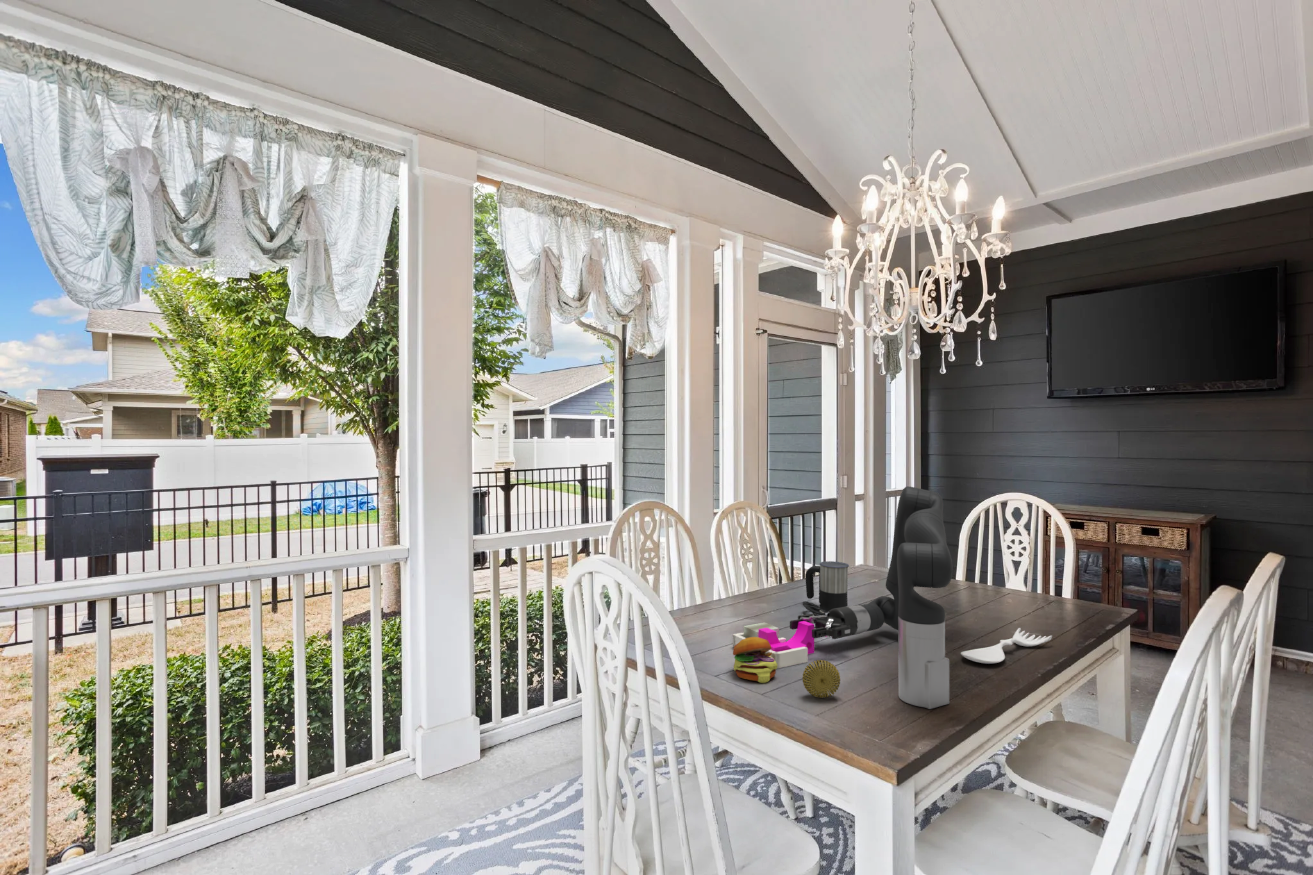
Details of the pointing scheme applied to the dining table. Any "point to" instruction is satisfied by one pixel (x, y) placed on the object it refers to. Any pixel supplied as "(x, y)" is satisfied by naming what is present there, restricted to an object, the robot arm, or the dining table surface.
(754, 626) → the sage block
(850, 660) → the dining table surface
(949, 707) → the dining table surface
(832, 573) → the milk frother
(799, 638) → the toy block
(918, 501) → the robot arm
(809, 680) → the sculpture
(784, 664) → the lane rack
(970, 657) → the white long tined part
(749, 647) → the cheeseburger
